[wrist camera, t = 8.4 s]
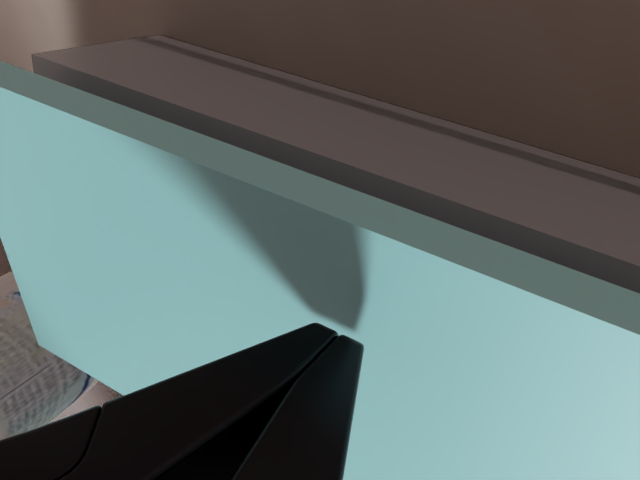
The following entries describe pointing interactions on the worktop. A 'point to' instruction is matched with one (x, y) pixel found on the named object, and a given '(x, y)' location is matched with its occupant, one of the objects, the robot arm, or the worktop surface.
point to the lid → (310, 293)
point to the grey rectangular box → (376, 150)
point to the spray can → (31, 370)
